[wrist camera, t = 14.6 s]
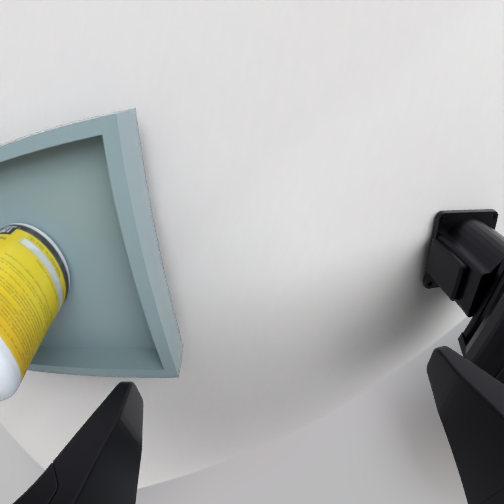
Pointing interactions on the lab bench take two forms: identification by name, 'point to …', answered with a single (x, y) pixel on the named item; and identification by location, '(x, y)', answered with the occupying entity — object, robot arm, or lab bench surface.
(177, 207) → the lab bench surface
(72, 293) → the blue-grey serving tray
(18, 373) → the pill bottle
